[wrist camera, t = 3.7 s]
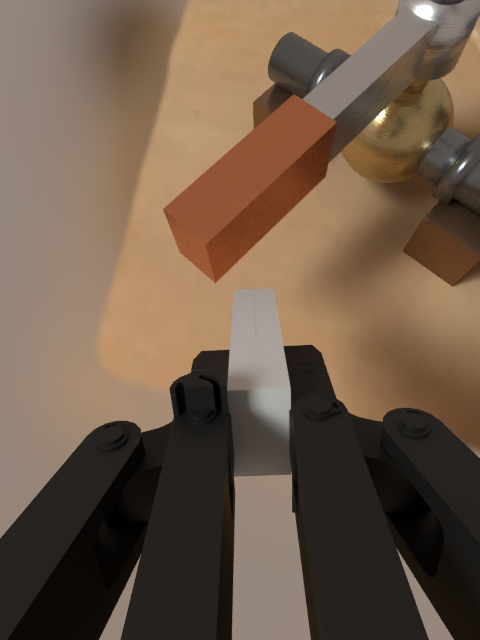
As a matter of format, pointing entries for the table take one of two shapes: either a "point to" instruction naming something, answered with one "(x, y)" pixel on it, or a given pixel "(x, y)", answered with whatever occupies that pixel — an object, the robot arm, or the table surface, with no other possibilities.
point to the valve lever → (313, 134)
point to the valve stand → (400, 152)
